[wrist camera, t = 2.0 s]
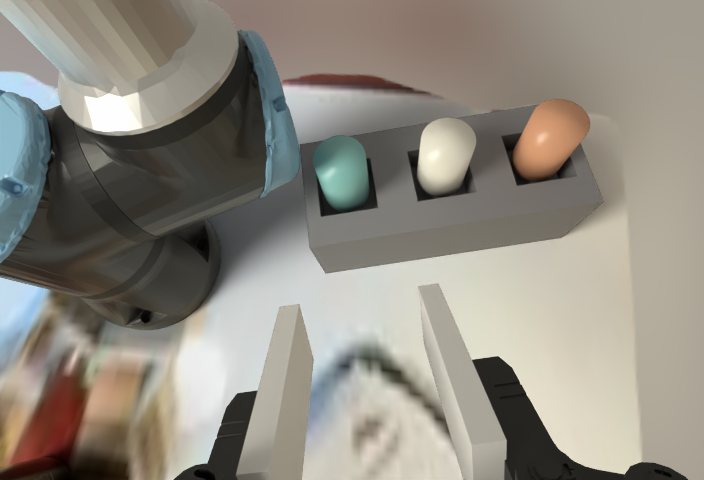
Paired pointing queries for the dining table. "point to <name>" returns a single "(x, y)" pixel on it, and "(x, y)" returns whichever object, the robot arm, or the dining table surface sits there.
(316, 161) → the teal button
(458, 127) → the cream button
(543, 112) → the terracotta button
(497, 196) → the button console
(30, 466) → the supplement bottle
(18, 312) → the dining table surface
